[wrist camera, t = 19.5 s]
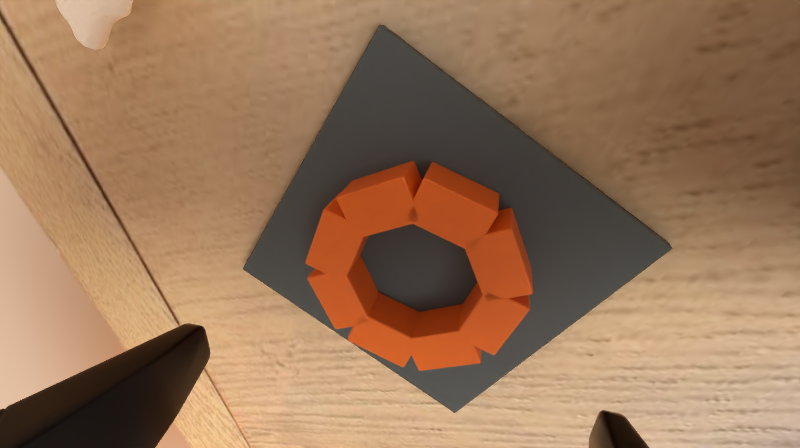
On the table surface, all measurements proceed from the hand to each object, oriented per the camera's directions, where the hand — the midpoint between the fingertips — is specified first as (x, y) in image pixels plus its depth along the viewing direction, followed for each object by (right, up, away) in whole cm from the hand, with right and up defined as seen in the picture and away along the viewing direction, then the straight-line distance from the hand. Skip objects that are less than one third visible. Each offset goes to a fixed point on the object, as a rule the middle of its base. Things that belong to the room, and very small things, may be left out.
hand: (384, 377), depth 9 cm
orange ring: (+1, +2, +4) cm, 5 cm away
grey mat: (+1, +2, +5) cm, 5 cm away
